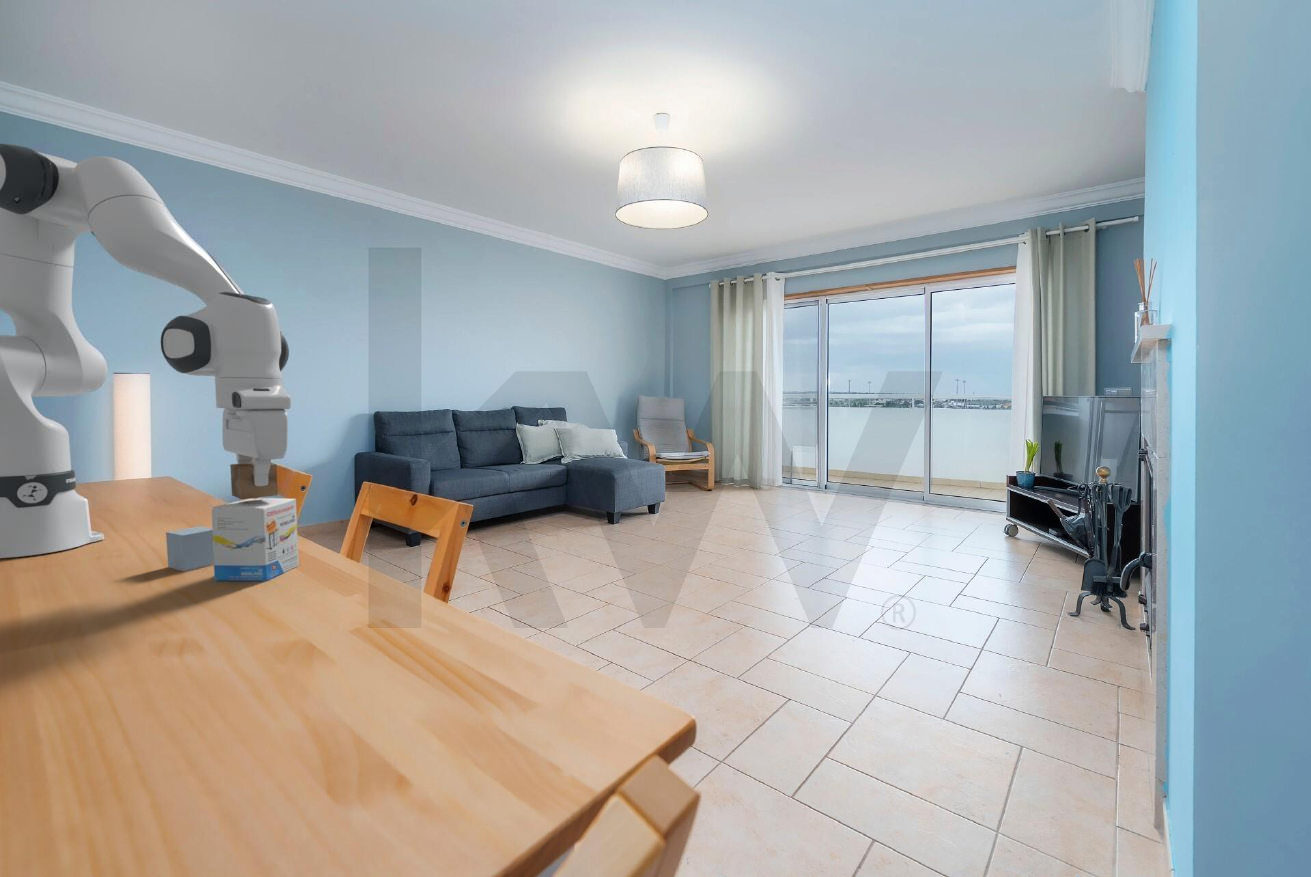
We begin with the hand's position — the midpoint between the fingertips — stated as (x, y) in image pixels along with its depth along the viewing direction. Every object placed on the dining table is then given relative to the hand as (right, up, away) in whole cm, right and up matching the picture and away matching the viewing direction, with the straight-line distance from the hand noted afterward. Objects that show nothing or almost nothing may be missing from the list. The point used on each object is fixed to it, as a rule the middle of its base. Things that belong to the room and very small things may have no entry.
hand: (254, 483), depth 95 cm
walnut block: (0, -2, 0) cm, 2 cm away
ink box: (0, -15, +1) cm, 15 cm away
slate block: (-14, -14, +5) cm, 20 cm away
